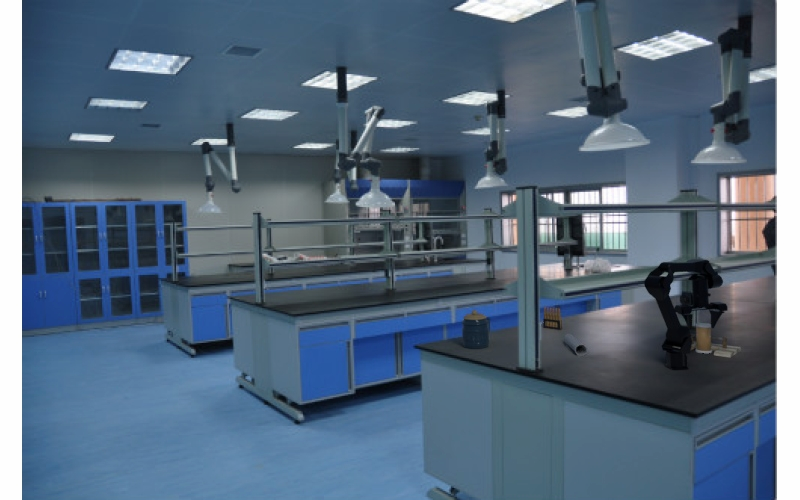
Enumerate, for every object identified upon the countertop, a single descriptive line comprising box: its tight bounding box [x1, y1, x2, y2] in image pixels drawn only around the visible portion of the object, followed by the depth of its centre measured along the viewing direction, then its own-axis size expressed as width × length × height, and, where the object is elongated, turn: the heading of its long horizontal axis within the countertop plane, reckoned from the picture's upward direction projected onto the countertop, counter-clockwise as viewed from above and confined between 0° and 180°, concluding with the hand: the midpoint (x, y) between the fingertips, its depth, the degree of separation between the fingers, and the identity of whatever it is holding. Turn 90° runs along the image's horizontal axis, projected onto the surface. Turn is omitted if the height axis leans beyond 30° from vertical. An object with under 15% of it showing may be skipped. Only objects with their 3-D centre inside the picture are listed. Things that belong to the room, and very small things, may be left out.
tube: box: [563, 333, 588, 356], centre depth 245 cm, size 5×5×25 cm
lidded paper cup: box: [695, 322, 713, 355], centre depth 228 cm, size 6×6×12 cm
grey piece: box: [673, 333, 742, 358], centre depth 230 cm, size 14×22×6 cm, turn 42°
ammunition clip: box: [542, 305, 563, 331], centre depth 289 cm, size 11×2×12 cm, turn 41°
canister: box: [461, 309, 490, 350], centre depth 259 cm, size 13×13×18 cm
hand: (701, 329), depth 214 cm, fingers open, 9 cm apart
